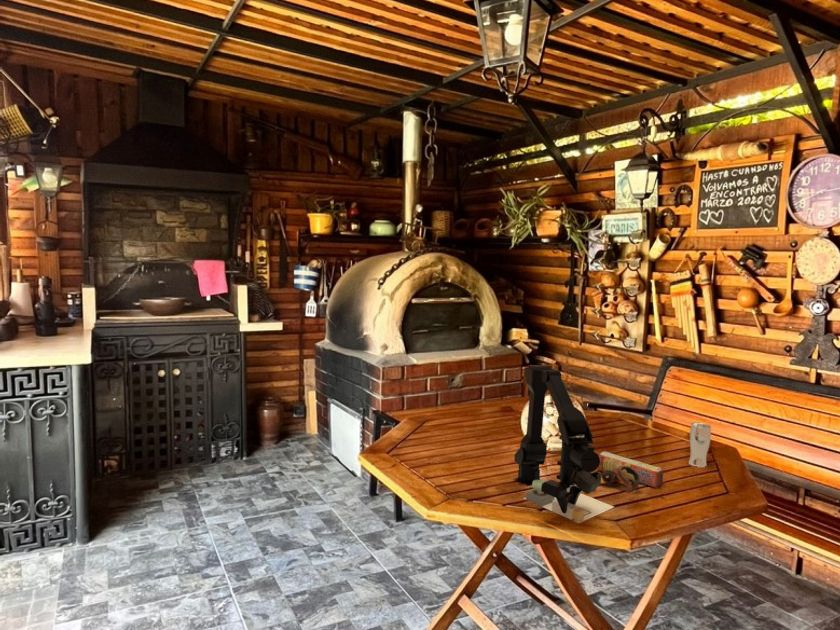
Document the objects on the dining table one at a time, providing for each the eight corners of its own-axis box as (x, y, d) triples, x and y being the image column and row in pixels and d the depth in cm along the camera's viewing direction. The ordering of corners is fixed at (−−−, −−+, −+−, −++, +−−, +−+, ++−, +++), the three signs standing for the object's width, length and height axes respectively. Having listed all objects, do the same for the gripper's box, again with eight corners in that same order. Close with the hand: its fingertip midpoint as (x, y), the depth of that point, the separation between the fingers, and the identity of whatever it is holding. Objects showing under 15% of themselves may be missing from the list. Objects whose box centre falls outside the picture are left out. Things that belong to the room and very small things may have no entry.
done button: (528, 496, 178) (528, 482, 177) (539, 492, 181) (539, 478, 181) (541, 502, 174) (542, 487, 173) (552, 498, 177) (553, 483, 177)
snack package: (663, 485, 196) (665, 465, 195) (655, 490, 191) (657, 470, 190) (603, 467, 210) (605, 449, 209) (595, 471, 205) (596, 453, 205)
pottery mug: (623, 482, 198) (636, 465, 194) (633, 504, 190) (646, 488, 186) (592, 474, 195) (604, 457, 191) (600, 497, 187) (613, 480, 183)
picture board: (523, 500, 179) (523, 498, 179) (559, 486, 190) (559, 484, 190) (578, 525, 164) (578, 522, 164) (614, 508, 175) (614, 506, 175)
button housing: (525, 501, 178) (526, 491, 178) (538, 496, 182) (539, 487, 182) (541, 508, 174) (542, 498, 173) (554, 503, 177) (554, 493, 177)
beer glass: (684, 464, 215) (688, 424, 214) (690, 459, 221) (694, 421, 219) (704, 469, 211) (708, 429, 209) (710, 464, 216) (714, 425, 214)
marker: (551, 510, 171) (552, 500, 171) (557, 507, 173) (558, 498, 172) (577, 522, 164) (578, 511, 164) (583, 519, 166) (584, 509, 166)
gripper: (575, 475, 155) (571, 531, 156) (614, 461, 166) (610, 513, 168) (541, 462, 163) (538, 515, 165) (581, 450, 175) (577, 499, 177)
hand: (567, 511), depth 168 cm, fingers closed on marker, 3 cm apart
